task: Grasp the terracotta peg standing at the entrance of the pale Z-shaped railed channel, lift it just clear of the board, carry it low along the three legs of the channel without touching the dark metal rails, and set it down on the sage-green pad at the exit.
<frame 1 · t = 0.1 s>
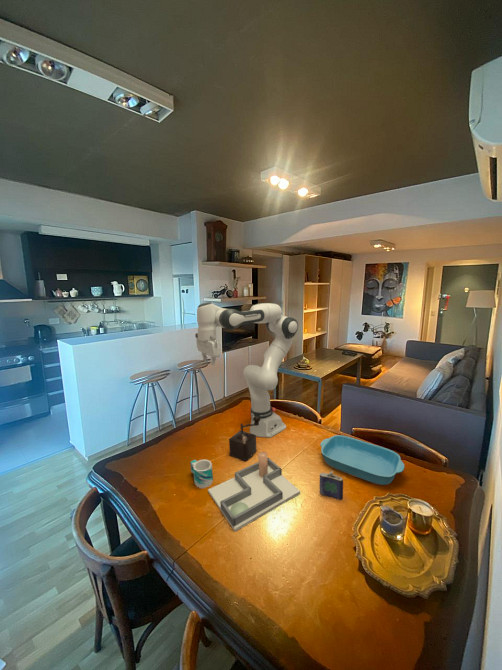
hand: (209, 362, 137), 48 cm above the table, fingers open, 8 cm apart
coffee grinder: (246, 451, 143), on the table
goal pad: (239, 512, 104), resting on channel
mug: (201, 479, 123), on the table
flask: (331, 496, 111), on the table
casserole dish: (358, 466, 128), on the table
peg: (263, 474, 123), point 1 cm above the table, touching channel
channel: (253, 492, 114), on the table
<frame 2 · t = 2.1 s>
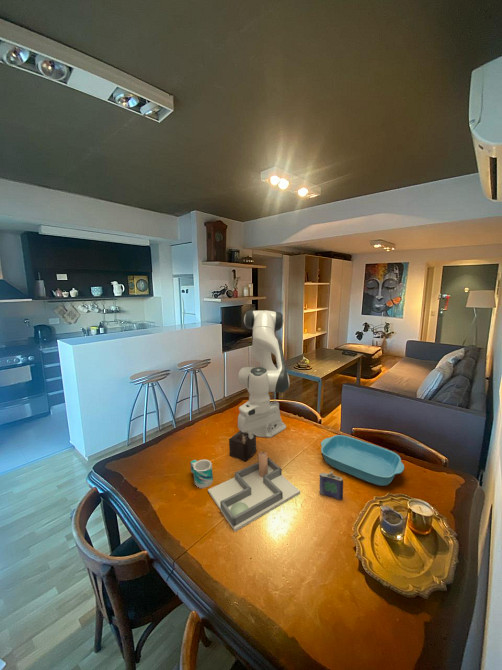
hand: (260, 434, 120), 21 cm above the table, fingers open, 8 cm apart
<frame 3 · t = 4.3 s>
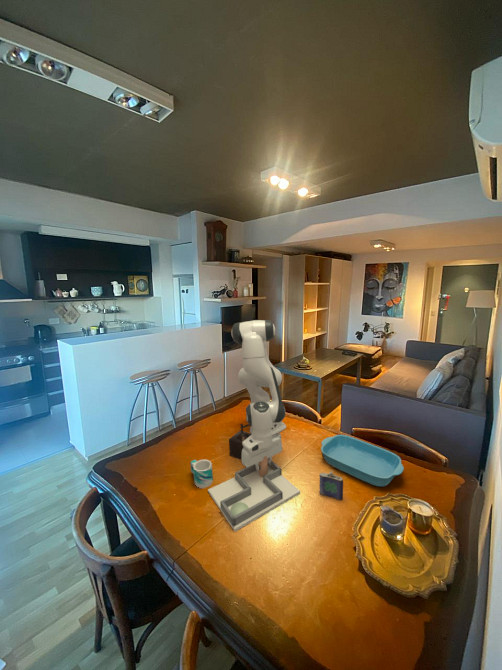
hand: (263, 467, 122), 5 cm above the table, fingers closed on peg, 4 cm apart
peg: (263, 474, 123), point 1 cm above the table, touching channel, gripper
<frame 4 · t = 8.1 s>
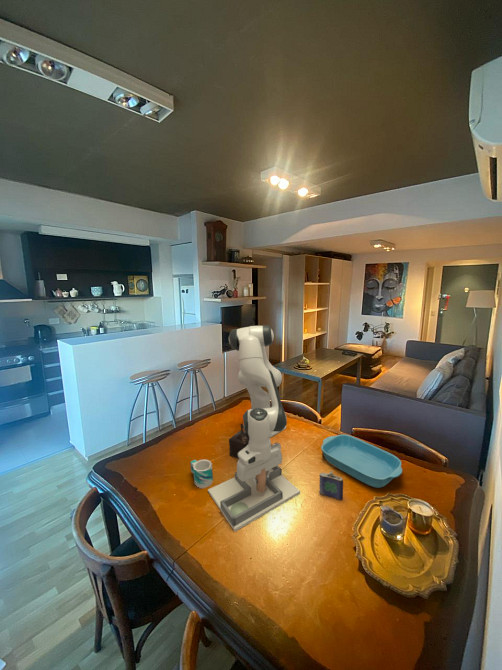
hand: (260, 480, 111), 7 cm above the table, fingers closed on peg, 4 cm apart
peg: (261, 488, 111), point 3 cm above the table, touching gripper
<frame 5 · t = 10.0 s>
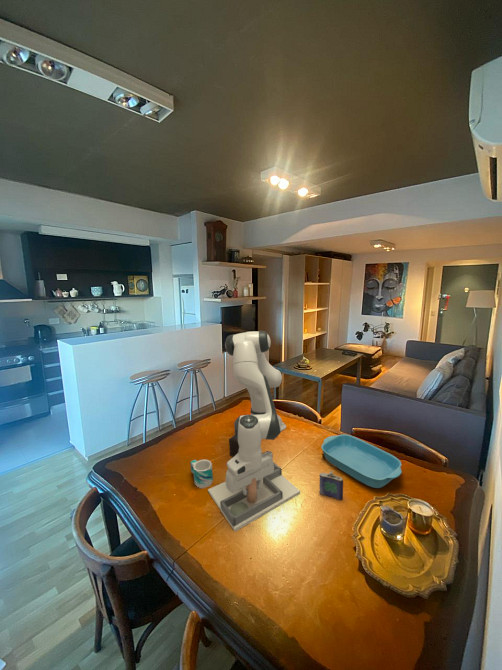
hand: (251, 490, 105), 7 cm above the table, fingers closed on peg, 4 cm apart
peg: (252, 499, 106), point 3 cm above the table, touching gripper
when the fingers open (6 cm above the table, at t = 11.8 s): peg stays where it is, resting on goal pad.
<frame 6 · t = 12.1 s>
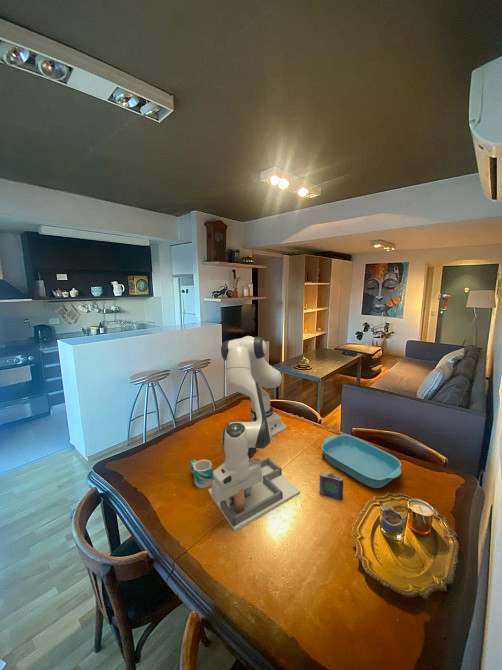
hand: (239, 500, 103), 6 cm above the table, fingers open, 7 cm apart
peg: (239, 509, 104), point 1 cm above the table, touching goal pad
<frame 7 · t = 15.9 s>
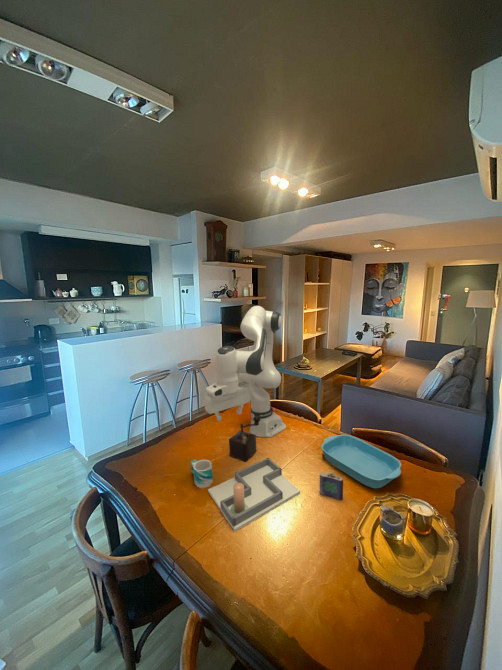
hand: (229, 417, 115), 31 cm above the table, fingers open, 8 cm apart
at the end: peg 0.1 cm from the target spot, point 1.5 cm above the table; peg tilted 0°; the gripper is holding nothing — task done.
